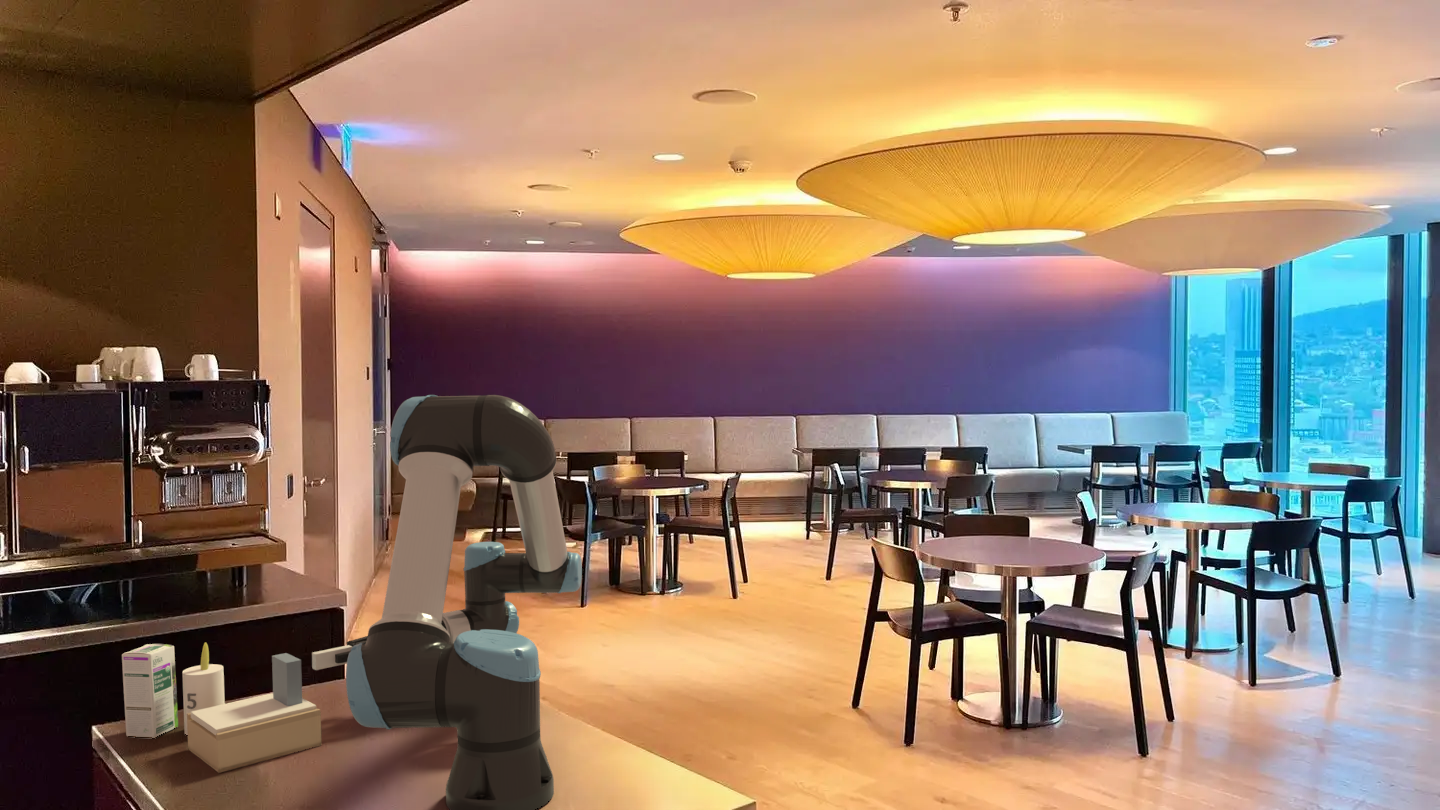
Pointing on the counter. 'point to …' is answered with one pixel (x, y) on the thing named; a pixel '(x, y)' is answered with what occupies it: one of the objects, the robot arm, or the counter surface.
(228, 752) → the box
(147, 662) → the syrup box
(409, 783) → the counter surface
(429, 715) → the robot arm
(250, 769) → the counter surface
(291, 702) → the lid
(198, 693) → the candle
